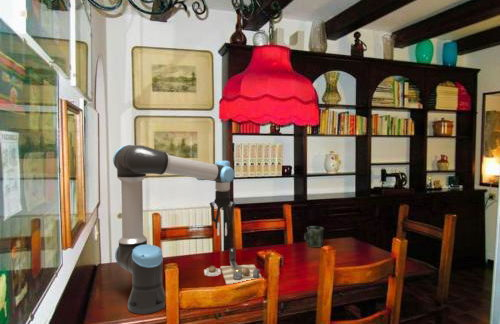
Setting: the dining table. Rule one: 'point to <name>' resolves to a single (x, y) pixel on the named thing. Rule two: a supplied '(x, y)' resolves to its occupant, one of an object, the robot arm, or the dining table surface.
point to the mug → (314, 236)
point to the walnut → (245, 271)
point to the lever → (233, 263)
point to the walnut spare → (212, 269)
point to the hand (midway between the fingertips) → (222, 234)
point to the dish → (212, 273)
